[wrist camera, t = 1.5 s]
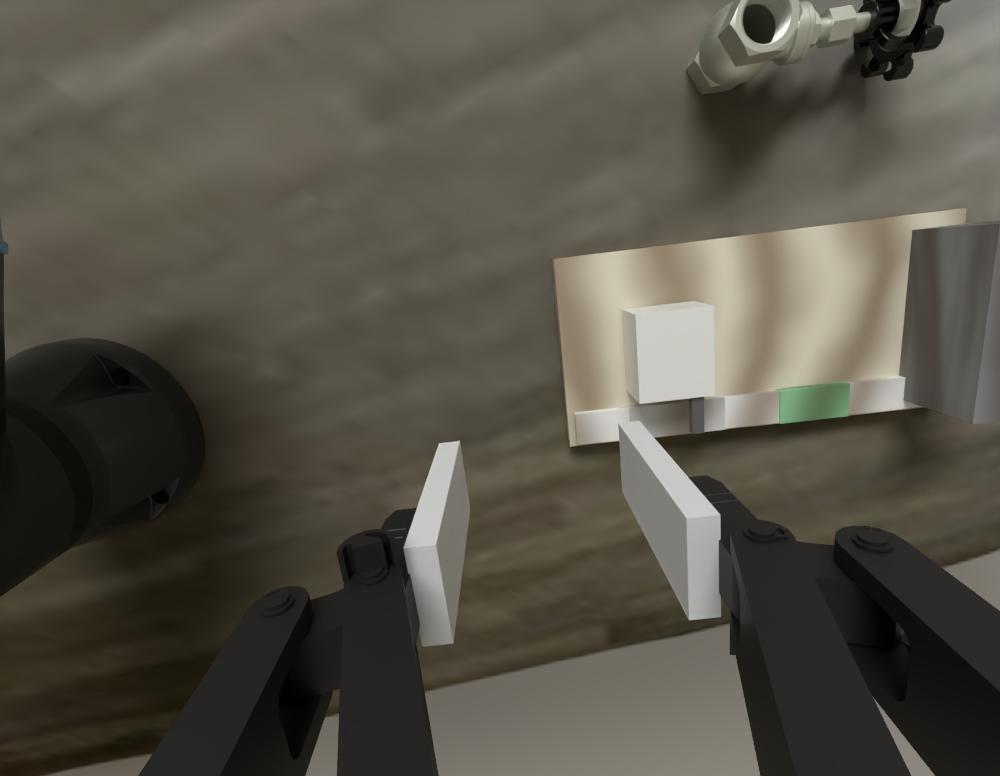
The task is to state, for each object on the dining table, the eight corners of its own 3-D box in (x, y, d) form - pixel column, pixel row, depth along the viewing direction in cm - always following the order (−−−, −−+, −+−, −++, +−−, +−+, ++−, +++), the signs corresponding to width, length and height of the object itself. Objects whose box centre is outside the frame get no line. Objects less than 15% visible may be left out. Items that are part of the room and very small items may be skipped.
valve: (684, 125, 33) (865, 96, 32) (729, 92, 26) (956, 55, 26) (679, 12, 31) (870, -21, 30) (725, -52, 25) (968, -95, 24)
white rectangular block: (628, 424, 36) (641, 441, 33) (622, 309, 34) (635, 314, 31) (695, 417, 36) (715, 433, 33) (693, 300, 34) (714, 305, 31)
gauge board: (568, 440, 38) (583, 481, 31) (551, 259, 35) (564, 259, 28) (929, 400, 37) (1027, 432, 30) (950, 209, 34) (1067, 196, 27)
